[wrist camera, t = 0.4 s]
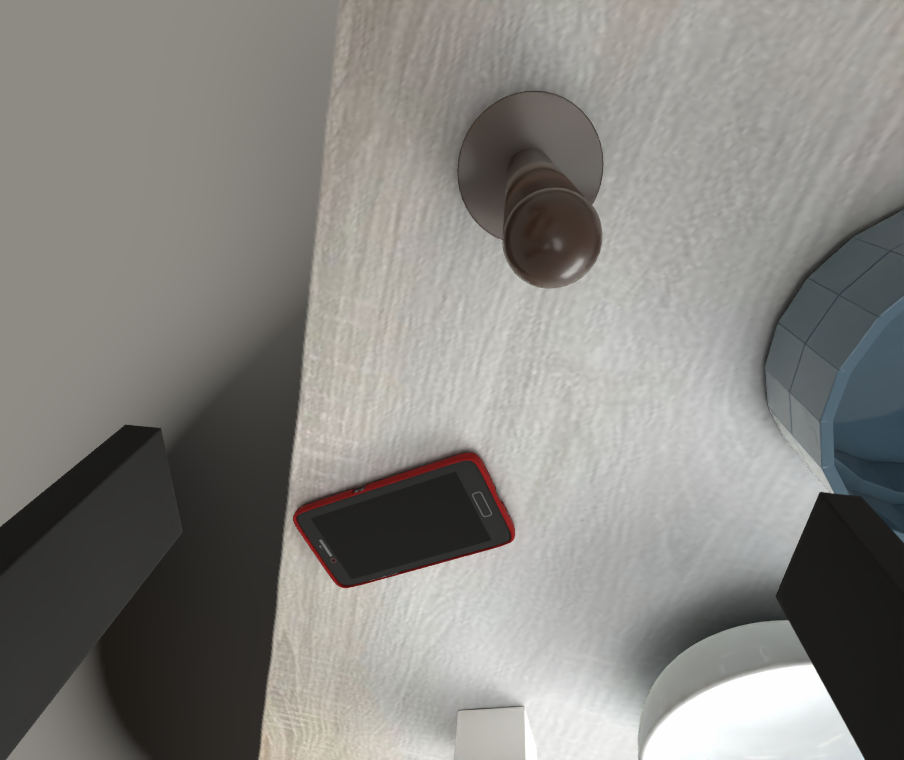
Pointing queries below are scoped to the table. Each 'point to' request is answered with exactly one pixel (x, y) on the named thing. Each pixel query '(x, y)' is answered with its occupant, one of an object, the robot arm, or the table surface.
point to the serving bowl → (743, 702)
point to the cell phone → (406, 521)
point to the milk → (494, 735)
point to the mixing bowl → (847, 371)
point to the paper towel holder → (536, 185)
